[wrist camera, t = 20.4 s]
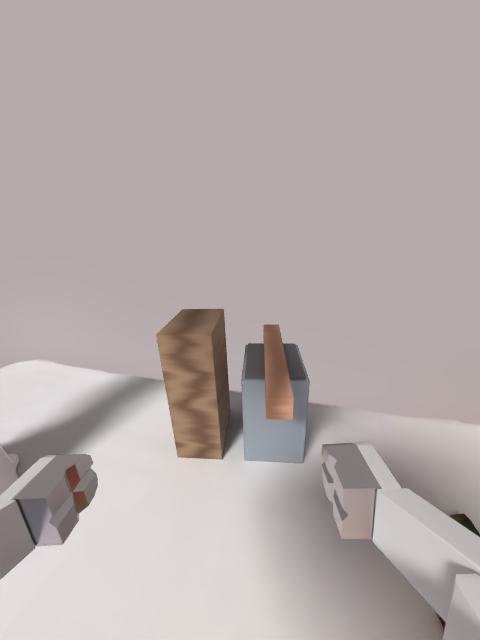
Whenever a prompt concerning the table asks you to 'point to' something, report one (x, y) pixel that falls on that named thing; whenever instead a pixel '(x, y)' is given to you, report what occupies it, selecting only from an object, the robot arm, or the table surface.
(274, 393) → the bar
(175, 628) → the table surface
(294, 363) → the dock
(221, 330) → the post
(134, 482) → the table surface
